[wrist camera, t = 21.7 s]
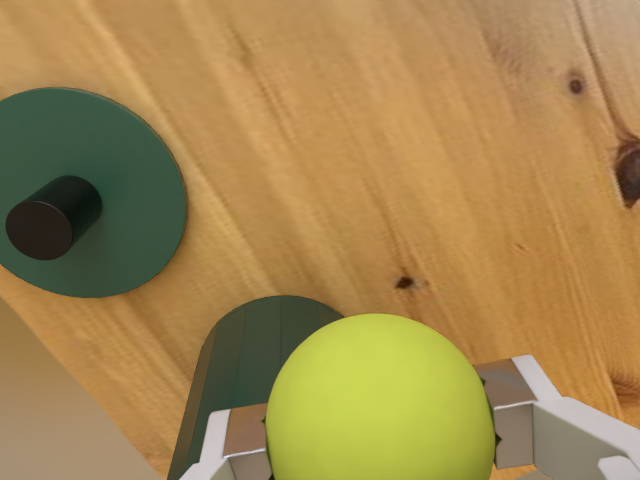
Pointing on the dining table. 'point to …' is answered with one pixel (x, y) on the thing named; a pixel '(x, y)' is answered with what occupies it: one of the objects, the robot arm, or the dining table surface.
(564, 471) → the robot arm
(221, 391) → the canister
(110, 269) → the canister lid
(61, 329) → the dining table surface
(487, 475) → the ball
